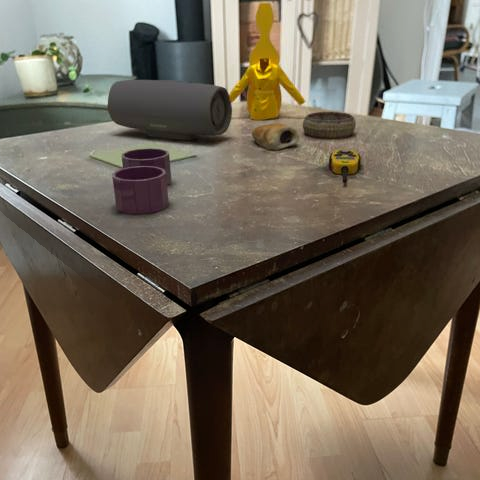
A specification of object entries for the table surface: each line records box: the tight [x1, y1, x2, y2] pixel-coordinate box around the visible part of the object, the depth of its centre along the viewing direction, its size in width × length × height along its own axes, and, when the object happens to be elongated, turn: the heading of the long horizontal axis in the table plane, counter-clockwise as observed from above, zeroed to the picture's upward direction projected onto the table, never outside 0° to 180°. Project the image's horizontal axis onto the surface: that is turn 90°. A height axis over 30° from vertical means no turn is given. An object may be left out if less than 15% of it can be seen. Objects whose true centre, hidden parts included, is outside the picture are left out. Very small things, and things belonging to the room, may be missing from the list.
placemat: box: [88, 141, 197, 169], centre depth 91 cm, size 13×13×1 cm
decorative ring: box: [302, 111, 357, 139], centre depth 104 cm, size 10×3×10 cm
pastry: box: [251, 122, 300, 151], centre depth 97 cm, size 9×7×4 cm
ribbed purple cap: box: [121, 148, 172, 187], centre depth 77 cm, size 7×7×4 cm
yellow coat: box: [228, 2, 306, 121], centre depth 114 cm, size 18×8×22 cm, turn 88°
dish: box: [111, 166, 169, 215], centre depth 69 cm, size 7×7×4 cm
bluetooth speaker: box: [107, 79, 233, 141], centre depth 102 cm, size 23×9×10 cm, turn 62°
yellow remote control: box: [328, 149, 362, 183], centre depth 81 cm, size 5×2×15 cm
